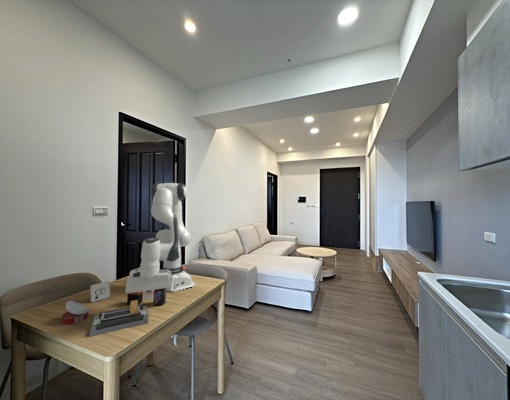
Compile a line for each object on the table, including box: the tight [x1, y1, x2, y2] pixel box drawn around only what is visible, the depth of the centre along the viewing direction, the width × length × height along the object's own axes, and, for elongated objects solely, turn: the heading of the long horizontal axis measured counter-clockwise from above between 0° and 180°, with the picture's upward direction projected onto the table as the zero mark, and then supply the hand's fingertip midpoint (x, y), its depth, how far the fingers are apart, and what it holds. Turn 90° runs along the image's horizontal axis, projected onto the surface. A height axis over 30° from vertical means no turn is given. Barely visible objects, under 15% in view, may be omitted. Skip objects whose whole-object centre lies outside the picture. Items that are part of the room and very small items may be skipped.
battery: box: [126, 291, 144, 305], centre depth 120 cm, size 4×7×10 cm, turn 83°
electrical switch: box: [89, 281, 111, 303], centre depth 124 cm, size 9×5×9 cm, turn 141°
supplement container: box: [152, 288, 167, 307], centre depth 120 cm, size 7×7×10 cm
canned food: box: [61, 300, 90, 326], centre depth 102 cm, size 11×10×10 cm
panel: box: [89, 304, 149, 337], centre depth 100 cm, size 22×14×4 cm, turn 121°
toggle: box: [129, 300, 139, 314], centre depth 103 cm, size 3×4×6 cm
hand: (148, 298), depth 106 cm, fingers closed
